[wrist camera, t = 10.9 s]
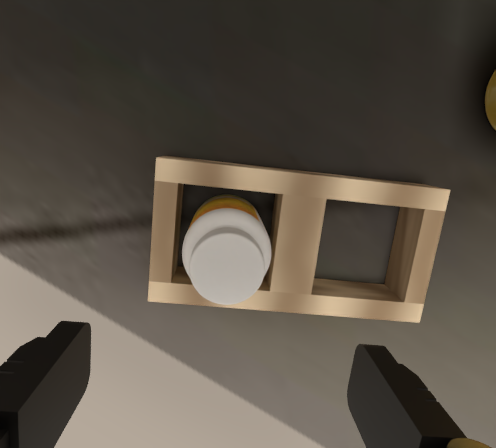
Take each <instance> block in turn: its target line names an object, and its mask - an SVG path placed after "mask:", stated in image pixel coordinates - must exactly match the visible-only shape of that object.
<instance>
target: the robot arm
mask: <svg viewBox="0 0 496 448" xmlns="http://www.w3.org/2000/svg"><path fill="white" fill-rule="evenodd" d="M90 355H91V327H90V324H89V323H84V322H71V321H61V322H60V323H58V324H57V326H56V327H55V328H54V329H53V330H52V331H51V332H50V333H49V334H48V335H47V337H46V338H44V337H37V338H35V339H33V340H32V341H30V342H28V343H26V344H24V345H22V346H20V347H19V348H18V349H17V350H16V351H15V352H14V353H13V354H12V355H11V356H10V357H9V358H8V359H7V362H4V363H3V364H2V365H1V366H0V448H54V446H55V445H56V443H57V441H58V439H59V437H60V436H61V434H62V432H63V430H64V428H65V427H66V425H67V423H68V421H69V420H70V418H71V416H72V414H73V413H74V411H75V409H76V407H77V405H78V404H79V402H80V400H81V398H82V396H83V395H84V393H85V391H86V388H87V384H88V381H89V376H90V357H91V356H90ZM347 399H348V406H349V409H350V412H351V414H352V416H353V419H354V421H355V423H356V425H357V428H358V430H359V432H360V434H361V437H362V439H363V441H364V443H365V446H366V448H491V447H489V446H487V445H485V444H483V443H481V442H478V441H475V440H472V439H468V438H467V437H466V436H465V435H464V433H463V432H462V431H461V430H460V428H459V427H458V426H457V425H456V423H455V422H454V421H453V420H452V418H451V417H450V416H449V415H448V413H447V412H446V411H445V410H444V408H443V407H442V406H441V405H440V403H439V402H437V401H436V398H435V397H434V396H433V394H432V393H431V392H430V391H428V388H427V387H426V386H425V384H424V383H423V382H422V381H421V379H420V378H419V377H418V376H417V375H416V374H415V373H413V372H412V371H411V370H409V369H408V368H407V367H405V366H404V365H403V364H398V363H397V361H396V360H395V359H394V357H393V356H392V355H391V353H390V352H389V351H388V350H387V348H386V347H385V346H379V345H366V344H359V345H358V346H357V348H356V350H355V355H354V359H353V364H352V369H351V374H350V379H349V384H348V390H347Z"/></svg>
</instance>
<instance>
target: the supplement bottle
mask: <svg viewBox="0 0 496 448" xmlns="http://www.w3.org/2000/svg"><path fill="white" fill-rule="evenodd" d="M182 260H183V264H184V267H185V270H186V272H187V274H188V276H189V277H190V279H191V282H192V284H193V286H194V288H195V289H196V290H197V292H198V293H199V294H200V295H201V296H202V297H204V298H205V299H207V300H209V301H211V302H213V303H217V304H222V305H232V304H237V303H240V302H242V301H245V300H246V299H248V298H249V297H251V296H252V295H253V294H254V293H255V292H256V291H257V290H258V288H259V287H260V285H261V283H262V281H263V278H264V276H265V274H266V272H267V270H268V268H269V265H270V261H271V244H270V239H269V236H268V234H267V231H266V229H265V227H264V225H263V222H262V220H261V218H260V216H259V214H258V212H257V210H256V209H255V208H254V206H253V205H252V204H251V203H249V202H248V201H247V200H245V199H243V198H241V197H239V196H236V195H231V194H223V195H218V196H215V197H212V198H210V199H208V200H207V201H205V202H204V203H203V204H202V205H201V206H200V207H199V208H198V210H197V211H196V213H195V215H194V217H193V219H192V222H191V224H190V226H189V229H188V231H187V233H186V235H185V238H184V242H183V247H182Z"/></svg>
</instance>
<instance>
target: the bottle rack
mask: <svg viewBox="0 0 496 448" xmlns="http://www.w3.org/2000/svg"><path fill="white" fill-rule="evenodd" d="M184 184H191V185H201V186H210V187H220V188H229V189H239V190H248V191H258V192H267V193H275V200H274V208H273V216H272V223H271V231H270V244H271V261H270V265H269V268H268V270H267V272H266V274H265V276H264V278H263V281H262V283H261V285H260V287H259V288H258V290H257V291H256V292H255V293H254V294H253V295H252V296H251V297H249V298H248V299H246V300H245V301H242V302H240V303H237V304H232V305H222V304H217V303H213V302H211V301H209V300H207V299H205V298H204V297H202V296H201V295H200V294H199V293H198V292H197V290H196V289H195V288H194V286H193V284H192V282H191V279H190V277H189V276H188V274H187V272H186V270H185V267H179V266H178V253H179V240H180V226H181V213H182V199H183V186H184ZM449 194H450V190H448V189H443V188H439V187H434V186H429V185H424V184H416V183H407V182H398V181H389V180H380V179H371V178H362V177H353V176H344V175H335V174H326V173H317V172H308V171H299V170H290V169H281V168H272V167H263V166H254V165H245V164H236V163H227V162H218V161H209V160H200V159H191V158H182V157H173V156H161V157H156V168H155V186H154V203H153V220H152V238H151V255H150V272H149V290H148V301H151V302H163V303H176V304H189V305H201V306H214V307H227V308H239V309H252V310H265V311H277V312H290V313H303V314H316V315H328V316H341V317H354V318H366V319H379V320H392V321H404V322H417V323H420V319H421V314H422V310H423V306H424V301H425V297H426V293H427V289H428V284H429V280H430V276H431V271H432V267H433V263H434V258H435V254H436V250H437V246H438V241H439V237H440V233H441V228H442V224H443V220H444V215H445V211H446V207H447V203H448V198H449ZM326 199H333V200H343V201H352V202H362V203H371V204H381V205H390V206H400V210H399V214H398V219H397V224H396V229H395V234H394V239H393V244H392V249H391V253H390V258H389V263H388V268H387V273H386V278H385V283H384V284H375V283H363V282H352V281H340V280H329V279H317V278H314V274H315V268H316V262H317V255H318V249H319V243H320V237H321V230H322V224H323V218H324V212H325V205H326Z"/></svg>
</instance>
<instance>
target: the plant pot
mask: <svg viewBox="0 0 496 448" xmlns="http://www.w3.org/2000/svg"><path fill="white" fill-rule="evenodd" d="M485 110H486V114H487V117H488V120H489V122H490V124H491V125H492V127H493V128H494V129H495V130H496V70H495V71H494V73H493V75H492V77H491V79H490V81H489V83H488V86H487V89H486V94H485Z"/></svg>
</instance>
